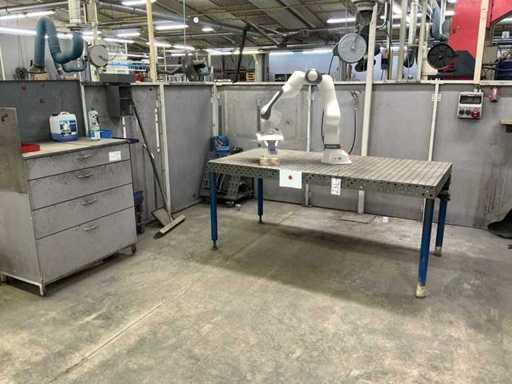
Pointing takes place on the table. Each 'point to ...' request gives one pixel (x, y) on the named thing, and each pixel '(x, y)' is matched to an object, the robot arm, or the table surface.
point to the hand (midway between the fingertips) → (271, 146)
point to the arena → (269, 161)
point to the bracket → (272, 148)
